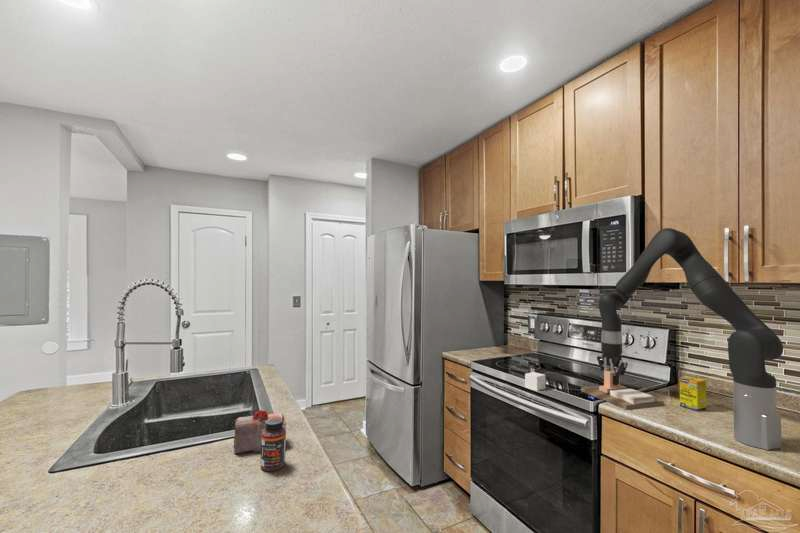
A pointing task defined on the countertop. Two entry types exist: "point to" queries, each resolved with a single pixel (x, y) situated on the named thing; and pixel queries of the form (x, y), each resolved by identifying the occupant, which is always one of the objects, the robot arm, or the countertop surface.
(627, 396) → the board
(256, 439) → the pink box with bow
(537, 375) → the white cube
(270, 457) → the supplement bottle
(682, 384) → the supplement box
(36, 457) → the countertop surface
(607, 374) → the stub
